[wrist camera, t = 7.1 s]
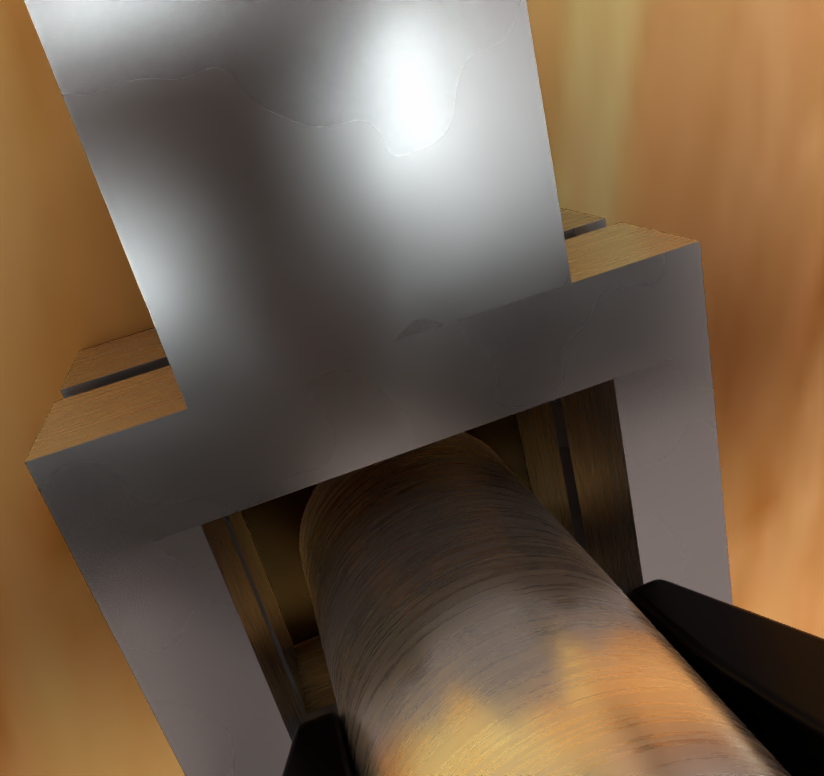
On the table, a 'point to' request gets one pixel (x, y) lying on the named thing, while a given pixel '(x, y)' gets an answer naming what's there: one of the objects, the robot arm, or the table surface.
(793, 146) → the table surface
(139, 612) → the strap
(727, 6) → the table surface
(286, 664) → the lower strap
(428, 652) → the link pin
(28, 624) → the table surface
